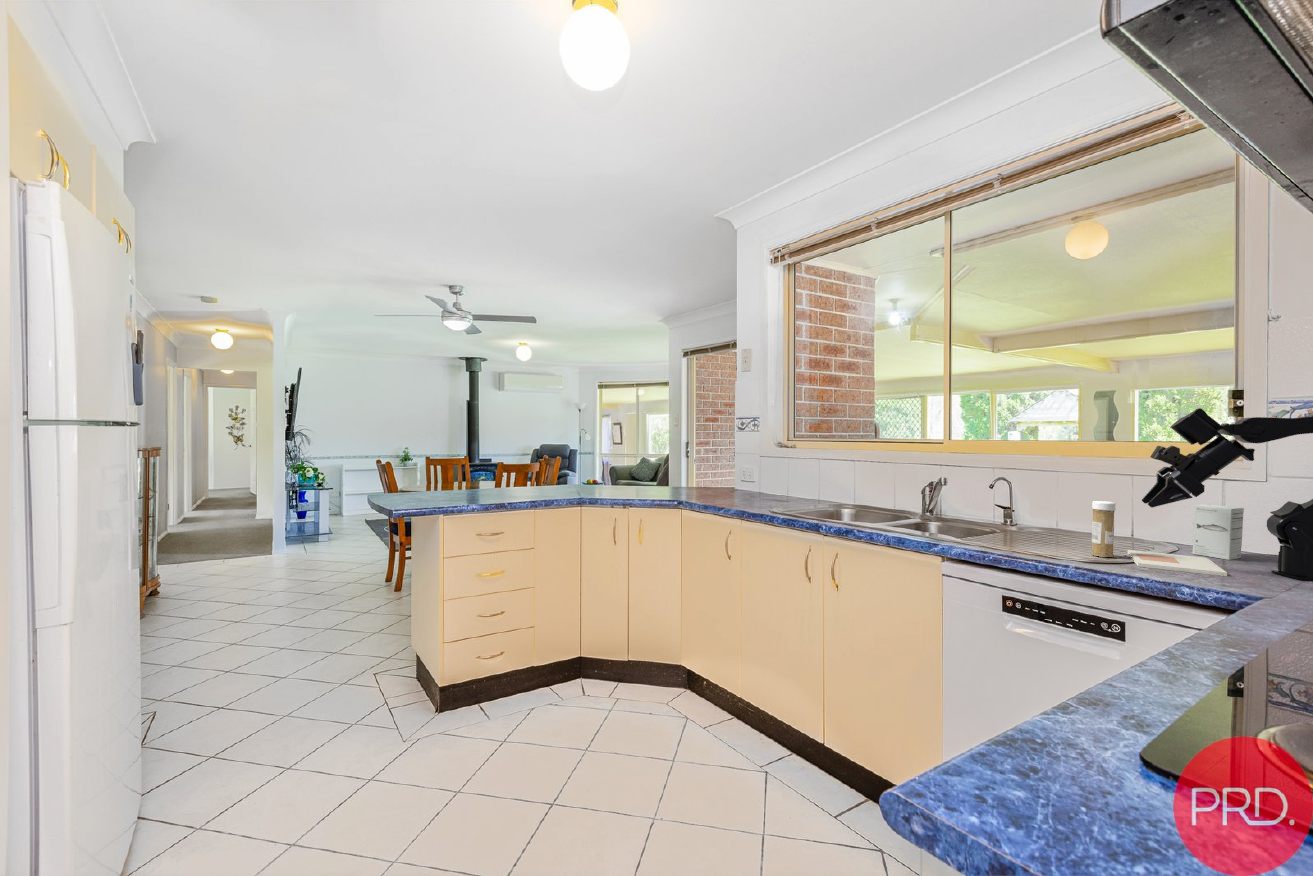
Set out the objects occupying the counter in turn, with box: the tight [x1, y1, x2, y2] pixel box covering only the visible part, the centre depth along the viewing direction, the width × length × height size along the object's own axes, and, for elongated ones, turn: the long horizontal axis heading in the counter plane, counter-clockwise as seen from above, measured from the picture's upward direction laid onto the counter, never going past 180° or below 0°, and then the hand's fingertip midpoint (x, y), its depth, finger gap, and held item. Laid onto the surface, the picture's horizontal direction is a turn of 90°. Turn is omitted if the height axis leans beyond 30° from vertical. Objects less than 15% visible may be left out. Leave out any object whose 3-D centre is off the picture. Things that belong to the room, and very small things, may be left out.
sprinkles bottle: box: [1090, 500, 1116, 558], centre depth 147 cm, size 5×5×14 cm
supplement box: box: [1192, 503, 1245, 561], centre depth 150 cm, size 7×7×13 cm
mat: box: [1127, 549, 1228, 577], centre depth 141 cm, size 15×18×1 cm
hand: (1146, 503), depth 143 cm, fingers open, 9 cm apart
